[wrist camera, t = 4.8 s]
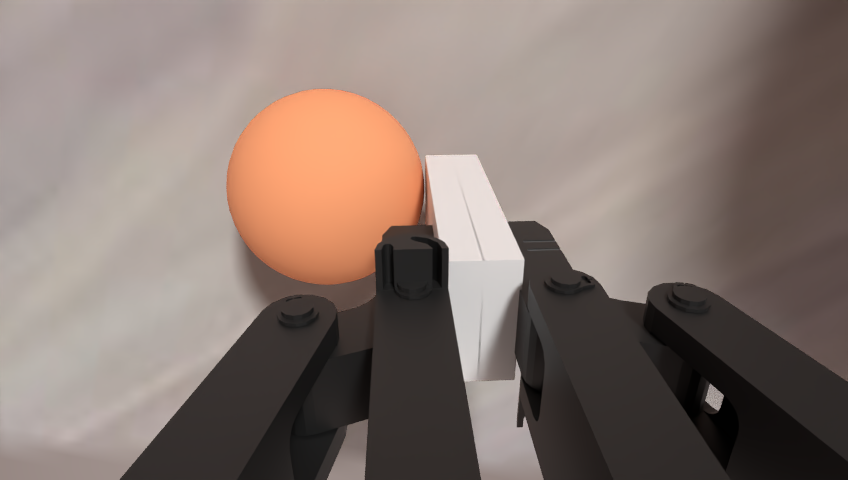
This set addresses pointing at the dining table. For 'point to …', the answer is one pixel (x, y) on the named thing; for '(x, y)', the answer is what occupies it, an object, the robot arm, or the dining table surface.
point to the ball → (323, 184)
